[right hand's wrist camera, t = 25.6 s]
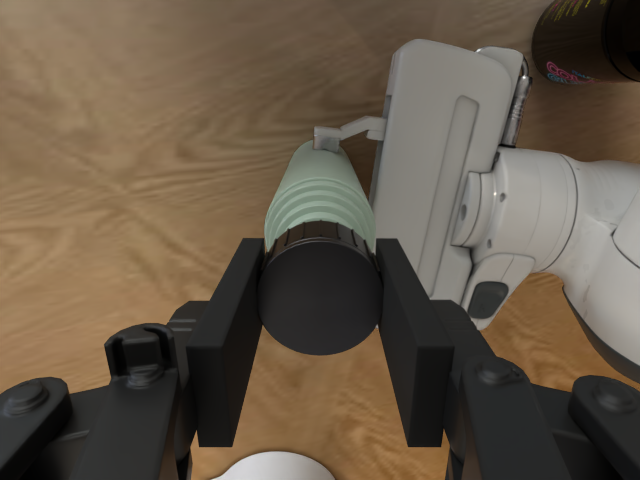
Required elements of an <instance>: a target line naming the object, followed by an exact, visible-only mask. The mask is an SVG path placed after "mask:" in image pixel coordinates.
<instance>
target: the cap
mask: <svg viewBox="0 0 640 480" xmlns="http://www.w3.org/2000/svg"><path fill="white" fill-rule="evenodd" d="M260 271H261V275H260V278H259V281H258V284H257V289H256V292H257V309H258V315H259V317H260V320H261V322H262V324H263V325H264V327H265V328H266V330H267V331H268V332H269V333H270V335H271V336H272V337H273V338H275V339H276V340H277V341H278V342H280V343H281V344H282V345H284V346H286V347H288V348H289V349H292V350H294V351H297V352H300V353H304V354H309V355H331V354H336V353H340V352H343V351H346V350H348V349H351V348H353V347H354V346H356V345H358V344H359V343H361V342H362V341H363V340H365V339H366V338H367V337H368V336H369V335H370V334H371V332H372V331H373V330H374V329H375V327H376V326H377V324H378V322H379V320H380V318H381V316H382V312H383V297H384V287H383V284H382V280H381V277H380V274H379V273H380V272H381V271H380V268H379V265H378V263H377V260H376V257H375V254H374V252H373V253H372V251H371V249H370V248H369V246H368V244H367V241H366V239H365V240H364V239H363V238H362V237H361V236H360V235H358V234H357V233H356V232H355V231H354V229H350V228H348V227H346V226H344V225H341V224H339V222H337V223H335V222H330V221H322V220H320V221H310V222H302V224H299V225H296V226H294V227H292V228H290V229H289V228H288V229H287V231H286V232H284V233H283V234H282V235H281V236H279V238H278V239H275V240H274V243H273V245H272V246H271V248H270V250H269V252H266V255H265V258H264V261H263V263H262V266H261V269H260Z"/></svg>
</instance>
